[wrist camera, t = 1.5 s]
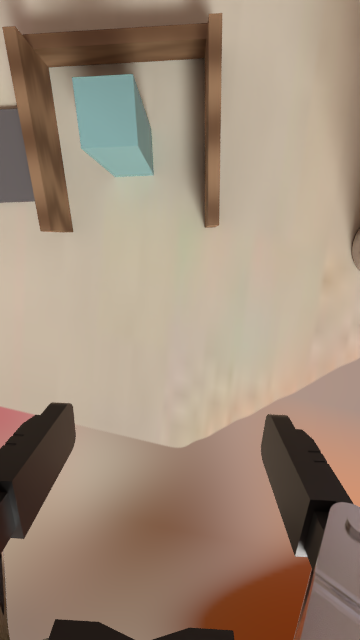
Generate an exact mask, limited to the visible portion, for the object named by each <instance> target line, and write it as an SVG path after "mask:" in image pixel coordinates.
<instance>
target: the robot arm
mask: <svg viewBox="0 0 360 640" xmlns="http://www.w3.org/2000/svg"><path fill="white" fill-rule="evenodd" d="M352 256H353V260H354V263H355V265H356V267H357V268H358V269H359V270H360V228H359V230H358V232H357V233H356V236H355V239H354V241H353V247H352ZM75 437H76V433H75V423H74V413H73V406H72V404H70V403H51V404H49V406H48V407H47V408H46V409H45V410H44V412H43V413H42V414H41V415H35V416H33V417H32V418H30V419H29V420H27V421H26V422H24V423H23V424H22V425H21V426H20V427H19V428H18V430H17V431H16V432H15V433H14V434H13V436H11V437H10V438H9V440H8V441H7V442H6V444H5V445H3V446H2V447H1V449H0V640H10V637H9V630H8V619H7V601H6V584H5V567H4V553H3V549H4V548H5V546H6V544H7V542H8V541H9V539H10V538H21V539H24V538H25V536H26V534H27V532H28V530H29V529H30V527H31V525H32V523H33V521H34V519H35V518H36V516H37V514H38V512H39V510H40V508H41V507H42V505H43V502H44V501H45V499H46V497H47V496H48V493H49V492H50V490H51V488H52V486H53V484H54V482H55V481H56V479H57V477H58V475H59V473H60V472H61V470H62V468H63V466H64V464H65V462H66V461H67V459H68V457H69V455H70V453H71V451H72V449H73V447H74V443H75ZM261 454H262V460H263V463H264V466H265V469H266V472H267V475H268V478H269V481H270V484H271V487H272V490H273V493H274V496H275V499H276V501H277V505H278V508H279V510H280V513H281V516H282V519H283V522H284V525H285V528H286V531H287V534H288V537H289V540H290V543H291V546H292V549H293V552H294V555H295V556H300V557H308V559H309V562H310V564H311V567H312V570H311V573H310V577H309V581H308V585H307V589H306V593H305V597H304V601H303V605H302V609H301V613H300V617H299V621H298V625H297V629H296V633H295V637H294V640H360V507H358V506H356V505H354V504H353V502H352V501H351V499H350V497H349V496H348V495H347V493H346V491H345V490H344V488H343V486H342V485H341V483H340V481H339V480H338V478H337V477H336V475H335V474H334V472H333V470H332V469H331V467H330V466H329V464H327V461H326V459H325V458H324V456H323V454H321V452H320V450H319V448H318V446H317V445H316V443H315V442H314V440H313V439H312V438H311V437H310V436H309V435H307V434H306V433H305V432H304V431H303V430H299V429H295V427H294V426H293V424H292V422H291V420H290V419H289V417H288V416H286V415H269V414H268V415H267V416H266V421H265V427H264V432H263V438H262V444H261ZM44 640H134V639H132V638H130V637H128V636H126V635H124V634H122V633H120V632H118V631H116V630H114V629H112V628H110V627H108V626H106V625H104V624H102V623H100V622H89V621H73V620H58V619H56V620H55V622H54V625H53V628H52V631H51V633H50V636H49V638H47V639H44ZM153 640H234V633H233V631H232V630H217V629H201V628H200V629H199V628H187V629H184V630H181V631H178V632H175V633H172V634H169V635H166V636H163V637H159V638H157V639H153Z"/></svg>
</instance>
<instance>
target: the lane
mask: <svg viewBox="0 0 360 640" xmlns="http://www.w3.org/2000/svg"><path fill="white" fill-rule="evenodd" d="M2 28H3V33H4V38H5V44H6V49H7V54H8V60H9V65H10V70H11V76H12V81H13V86H14V92H15V97H16V102H17V108H18V113H19V118H20V124H21V129H22V134H23V140H24V145H25V150H26V156H27V161H28V166H29V172H30V177H31V182H32V188H33V193H34V198H35V204H36V209H37V214H38V220H39V225H40V230H41V231H46V232H73V227H72V221H71V214H70V208H69V201H68V194H67V188H66V181H65V174H64V168H63V161H62V155H61V148H60V141H59V135H58V128H57V121H56V115H55V108H54V102H53V95H52V88H51V82H50V75H49V68H48V67H61V66H78V65H96V64H113V63H130V62H148V61H165V60H183V59H200V58H205V228H206V227H216V226H218V225H219V193H220V126H221V59H222V13H217V14H209V18H208V23H201V24H185V25H169V26H152V27H136V28H120V29H104V30H88V31H72V32H56V33H40V34H24V35H22V34H21V33H20V32H19V31H18V29H17V28H16V27H15V26H12V27H2Z"/></svg>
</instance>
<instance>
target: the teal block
mask: <svg viewBox="0 0 360 640" xmlns="http://www.w3.org/2000/svg"><path fill="white" fill-rule="evenodd" d="M72 81H73V89H74V96H75V104H76V112H77V120H78V127H79V135H80V143H81V149H83V150H84V151H85V152H86V153H87V154H88V155H90V156H91V157H92V158H93V159H94V160H96V161H97V162H98V163H99V164H100V165H102V166H103V167H104V168H105V169H106V170H107V171H109V172H110V173H111V174H112V175H113V176H115V177H124V176H148V175H154V171H153V153H152V135H151V127H150V124H149V121H148V118H147V115H146V112H145V109H144V106H143V103H142V100H141V97H140V94H139V91H138V88H137V85H136V82H135V79H134V76H133V74H124V75H106V76H88V77H72Z"/></svg>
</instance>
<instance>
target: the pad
mask: <svg viewBox="0 0 360 640" xmlns="http://www.w3.org/2000/svg"><path fill="white" fill-rule="evenodd" d="M28 201H35V198H34V193H33V188H32V182H31V177H30V172H29V166H28V161H27V156H26V150H25V145H24V140H23V134H22V129H21V124H20V118H19V113H18V109H1V110H0V203H2V202H28Z"/></svg>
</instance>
